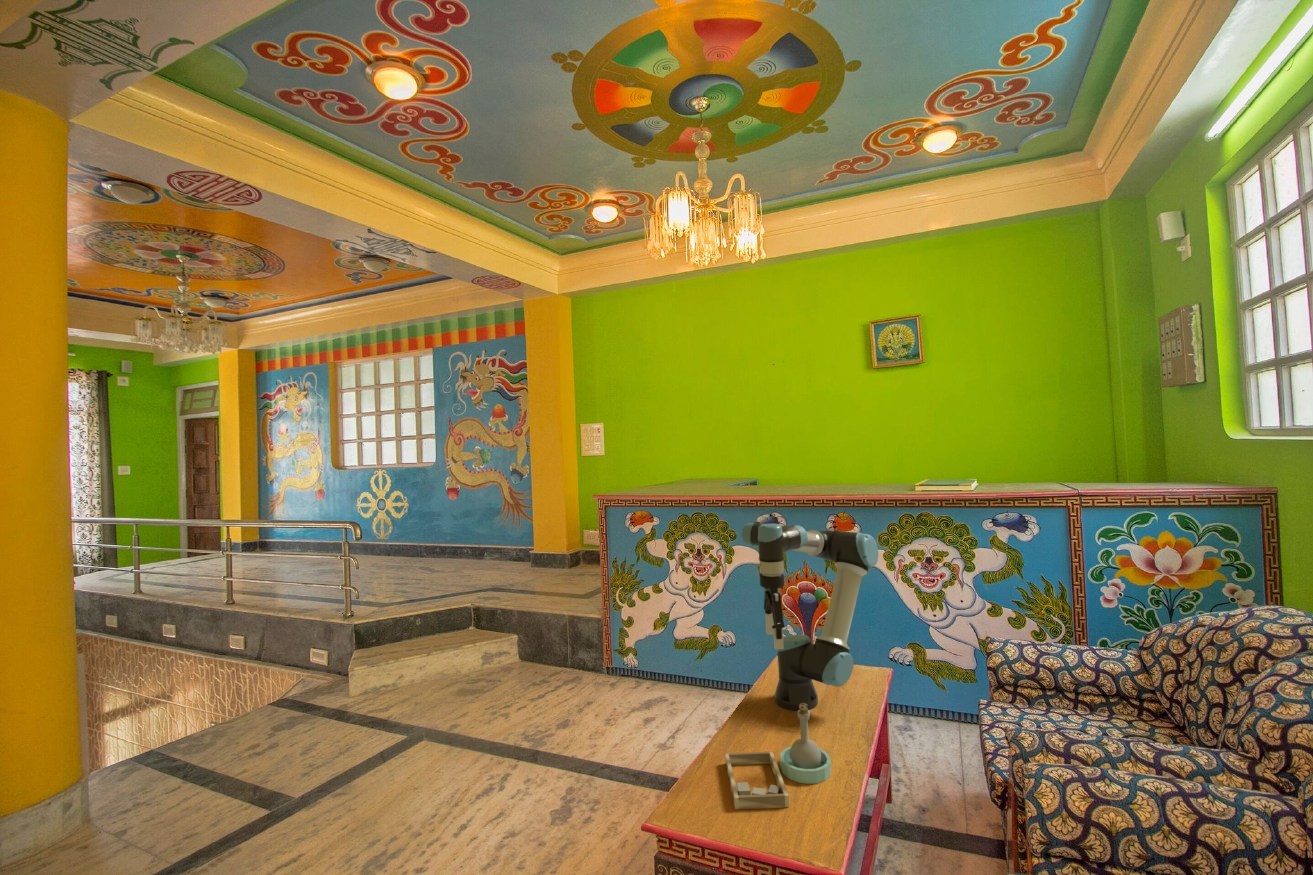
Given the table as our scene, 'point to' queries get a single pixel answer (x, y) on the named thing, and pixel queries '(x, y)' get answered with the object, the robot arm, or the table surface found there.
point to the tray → (762, 799)
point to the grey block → (743, 788)
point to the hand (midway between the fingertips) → (774, 641)
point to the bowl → (805, 774)
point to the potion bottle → (805, 744)
